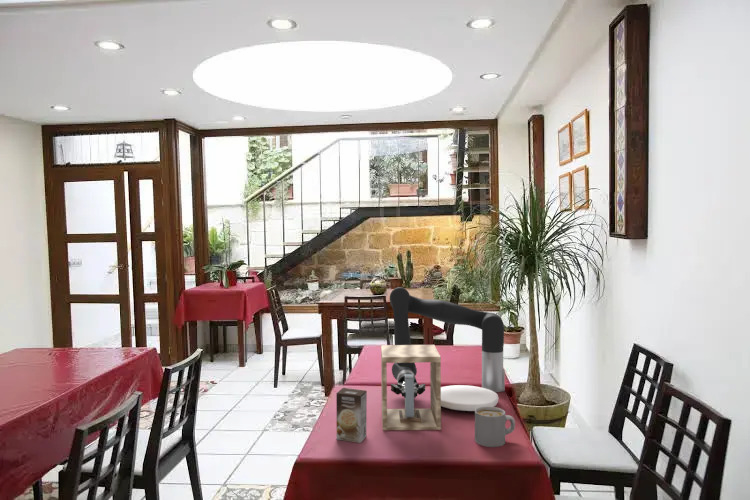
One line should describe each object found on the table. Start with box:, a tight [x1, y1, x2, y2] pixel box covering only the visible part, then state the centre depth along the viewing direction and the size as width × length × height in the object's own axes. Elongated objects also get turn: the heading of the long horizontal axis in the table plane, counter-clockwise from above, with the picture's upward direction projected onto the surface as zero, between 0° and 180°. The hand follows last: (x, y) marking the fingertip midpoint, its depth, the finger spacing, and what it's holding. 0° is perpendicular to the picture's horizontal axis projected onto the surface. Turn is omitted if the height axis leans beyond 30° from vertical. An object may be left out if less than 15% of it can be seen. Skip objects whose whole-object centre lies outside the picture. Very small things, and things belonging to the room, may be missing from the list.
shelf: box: [380, 344, 442, 431], centre depth 195 cm, size 20×19×26 cm
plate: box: [441, 384, 499, 412], centre depth 213 cm, size 28×6×27 cm
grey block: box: [404, 374, 415, 417], centre depth 195 cm, size 3×6×14 cm, turn 0°
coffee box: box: [335, 387, 368, 444], centre depth 179 cm, size 9×6×16 cm
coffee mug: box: [474, 406, 516, 448], centre depth 176 cm, size 13×10×10 cm
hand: (409, 395), depth 193 cm, fingers closed on grey block, 3 cm apart
